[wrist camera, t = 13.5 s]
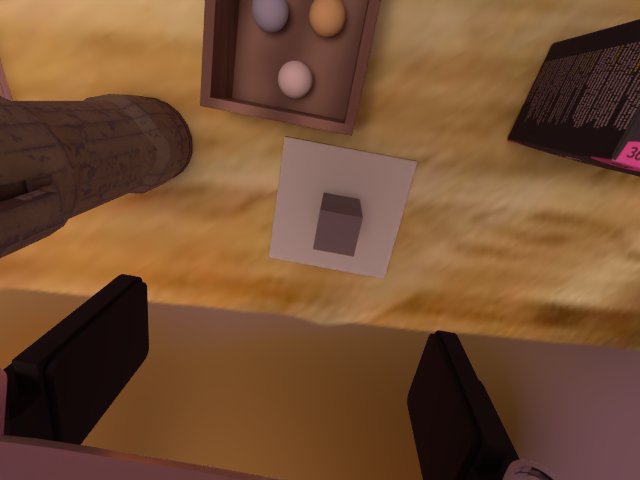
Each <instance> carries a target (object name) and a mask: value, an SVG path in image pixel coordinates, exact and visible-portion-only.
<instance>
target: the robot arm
mask: <svg viewBox="0 0 640 480" xmlns="http://www.w3.org/2000/svg"><path fill="white" fill-rule="evenodd" d="M148 351H149V336H148V303H147V285H146V283H144V282H142V279H141V278H140V277H136V276H130V275H125V274H121V275H119V276H118V277H116V278H115V279H114V280H113V281H111V282H110V283H109V284H108V285H106V286H105V287H104V288H103V289H101V290H100V291H99V292H97V293H96V294H95V295H94V296H92V297H91V298H90V299H89V300H87V301H86V302H85V303H84V304H82V305H81V306H80V307H79V308H77V309H76V310H75V311H73V312H72V313H71V314H70V315H68V316H67V317H66V318H65V319H63V320H62V321H61V322H60V323H58V324H57V325H56V326H55V327H53V328H52V329H51V330H50V331H48V332H47V333H46V334H44V335H43V336H42V337H41V338H39V339H38V340H37V341H36V342H34V343H33V344H32V345H31V346H29V347H28V348H27V349H26V350H24V351H23V352H22V353H20V354H19V355H18V356H17V357H15V358H14V359H13V360H12V363H11V364H10V365H9V366H8V367H6V368H5V369H4V370H2V369H1V368H0V480H283V479H277V478H271V477H265V476H260V475H255V474H249V473H243V472H237V471H232V470H226V469H220V468H214V467H209V466H202V465H196V464H191V463H186V462H180V461H174V460H168V459H162V458H155V457H150V456H144V455H138V454H132V453H125V452H120V451H114V450H108V449H102V448H96V447H90V446H83V445H81V443H82V442H83V441H84V439H85V438H86V437H87V435H88V434H89V433H90V432H91V430H92V429H93V428H94V426H95V425H96V424H97V422H98V421H99V420H100V418H101V417H102V416H103V414H104V413H105V412H106V410H107V409H108V408H109V406H110V405H111V404H112V402H113V401H114V400H115V398H116V397H117V396H118V395H119V393H120V392H121V391H122V389H123V388H124V387H125V385H126V384H127V383H128V381H129V380H130V379H131V377H132V376H133V375H134V373H135V372H136V371H137V369H138V368H139V367H140V365H141V364H142V363H143V362H144V360H145V359H146V357H147V354H148ZM407 405H408V410H409V415H410V420H411V425H412V429H413V434H414V439H415V444H416V449H417V453H418V458H419V463H420V468H421V472H422V477H423V480H559V479H558V478H557V477H556V476H555V475H554V474H552V473H551V472H550V471H549V470H547V469H546V468H544V467H542V466H541V465H539V464H537V463H534V462H531V461H529V460H520V459H519V457H518V455H517V453H516V451H515V449H514V447H513V445H512V443H511V441H510V439H509V437H508V435H507V432H506V430H505V428H504V426H503V425H502V422H501V420H500V418H499V416H498V414H497V412H496V410H495V408H494V406H493V404H492V402H491V400H490V398H489V396H488V394H487V392H486V390H485V387H484V386H483V384H482V383H481V381H479V380H478V378H477V376H476V374H475V371H474V370H473V367H472V365H471V363H470V362H469V359H468V357H467V355H466V353H465V351H464V349H463V347H462V345H461V343H460V340H459V338H458V337H457V335H456V334H455V333H450V332H445V331H439V330H438V331H436V332H435V334H430V335H429V337H428V340H427V343H426V346H425V348H424V351H423V354H422V357H421V360H420V362H419V365H418V368H417V371H416V374H415V376H414V379H413V382H412V385H411V388H410V390H409V393H408V398H407Z"/></svg>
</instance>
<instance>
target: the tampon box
mask: <svg viewBox="0 0 640 480" xmlns="http://www.w3.org/2000/svg"><path fill="white" fill-rule="evenodd" d="M508 141H512V142H515V143H519V144H522V145H525V146H528V147H531V148H534V149H537V150H541V151H544V152H547V153H551V154H554V155H558V156H561V157H564V158H568V159H572V160H575V161H579V162H583V163H586V164H590V165H594V166H598V167H602V168H606V169H611V170H615V171H619V172H623V173H627V174H632V175H636V176H640V19H639V20H635V21H632V22H628V23H625V24H621V25H618V26H614V27H611V28H607V29H603V30H600V31H596V32H593V33H589V34H586V35H582V36H578V37H575V38H571V39H567V40H564V41H560V42H557V43H554V44H553V45H552V47H551V49H550V51H549V53H548V56H547V58H546V60H545V62H544V64H543V66H542V68H541V71H540V73H539V75H538V77H537V79H536V81H535V83H534V85H533V87H532V89H531V92H530V94H529V96H528V98H527V100H526V102H525V104H524V106H523V108H522V111H521V113H520V115H519V117H518V119H517V121H516V123H515V125H514V128H513V130H512V132H511V134H510V136H509V138H508Z"/></svg>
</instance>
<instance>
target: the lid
mask: <svg viewBox="0 0 640 480" xmlns="http://www.w3.org/2000/svg"><path fill="white" fill-rule="evenodd" d="M416 166H417V161H414V160H408V159H403V158H398V157H393V156H387V155H382V154H377V153H371V152H366V151H361V150H356V149H350V148H345V147H340V146H335V145H329V144H324V143H319V142H314V141H308V140H303V139H298V138H293V137H287V136H285V139H284V146H283V154H282V161H281V169H280V176H279V184H278V191H277V199H276V206H275V214H274V221H273V229H272V236H271V244H270V251H269V258H274V259H280V260H285V261H290V262H296V263H301V264H307V265H312V266H317V267H323V268H328V269H333V270H339V271H344V272H349V273H355V274H360V275H365V276H371V277H376V278H382V279H385V275H386V272H387V268H388V265H389V261H390V258H391V254H392V251H393V247H394V243H395V240H396V236H397V233H398V229H399V226H400V222H401V219H402V215H403V212H404V208H405V205H406V201H407V198H408V194H409V190H410V187H411V183H412V180H413V176H414V173H415V169H416Z"/></svg>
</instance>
